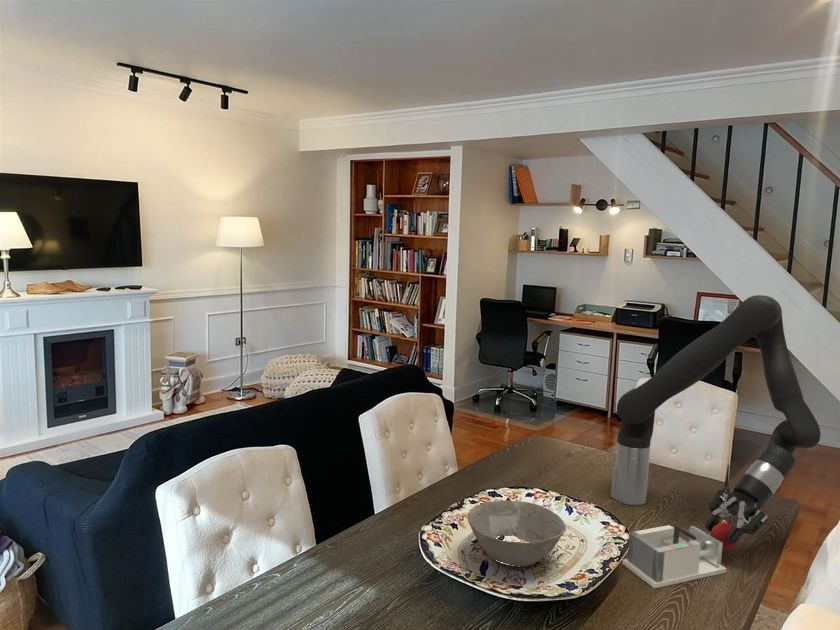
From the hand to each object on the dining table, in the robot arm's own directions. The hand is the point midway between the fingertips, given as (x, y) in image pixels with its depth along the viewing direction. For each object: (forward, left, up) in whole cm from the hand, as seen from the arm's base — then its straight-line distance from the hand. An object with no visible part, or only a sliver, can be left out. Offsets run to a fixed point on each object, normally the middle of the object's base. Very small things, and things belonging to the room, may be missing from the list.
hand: (718, 535), depth 151 cm
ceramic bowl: (-37, -33, -6) cm, 50 cm away
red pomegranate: (+1, +2, -4) cm, 5 cm away
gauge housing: (-7, -12, -6) cm, 15 cm away
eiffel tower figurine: (-6, +37, -7) cm, 38 cm away
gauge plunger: (-4, -8, -5) cm, 10 cm away
